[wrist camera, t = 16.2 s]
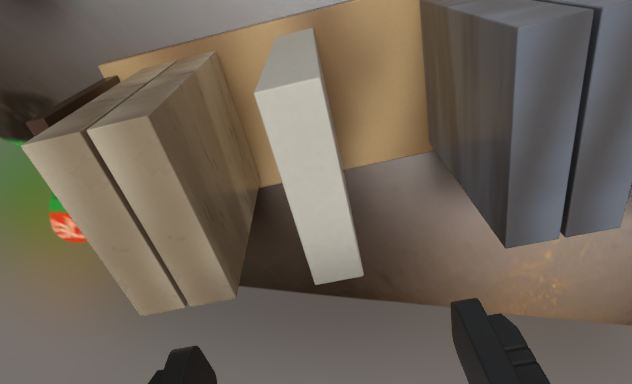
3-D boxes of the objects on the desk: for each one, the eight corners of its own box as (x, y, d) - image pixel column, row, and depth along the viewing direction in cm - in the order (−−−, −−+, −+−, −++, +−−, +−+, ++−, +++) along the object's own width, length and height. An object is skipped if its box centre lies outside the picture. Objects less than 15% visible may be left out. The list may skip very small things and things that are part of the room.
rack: (174, 200, 38) (100, 335, 24) (104, 62, 31) (-60, 141, 17) (514, 127, 35) (654, 234, 21) (525, -45, 27) (749, -56, 14)
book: (310, 169, 35) (315, 285, 22) (275, 36, 29) (253, 93, 16) (341, 162, 35) (364, 276, 22) (313, 27, 29) (320, 76, 16)
